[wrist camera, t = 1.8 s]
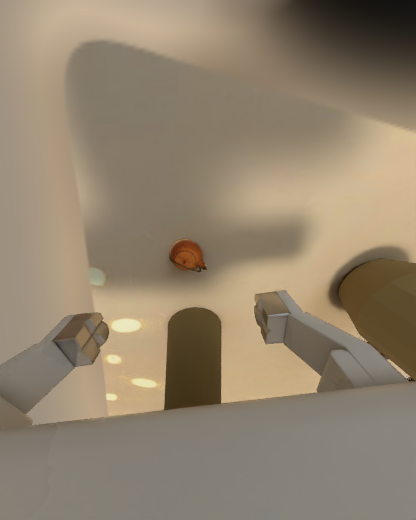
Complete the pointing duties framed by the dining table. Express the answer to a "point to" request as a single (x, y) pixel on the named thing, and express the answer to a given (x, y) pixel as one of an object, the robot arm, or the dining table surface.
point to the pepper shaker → (193, 359)
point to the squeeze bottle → (384, 308)
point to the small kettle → (187, 255)
